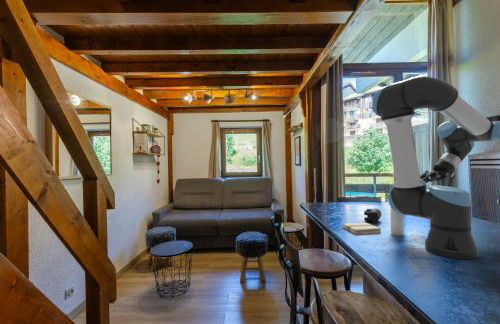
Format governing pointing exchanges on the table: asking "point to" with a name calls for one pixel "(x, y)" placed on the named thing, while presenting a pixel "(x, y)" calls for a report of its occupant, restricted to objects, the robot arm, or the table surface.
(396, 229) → the white bottle
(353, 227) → the oak board
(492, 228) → the table surface
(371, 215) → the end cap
